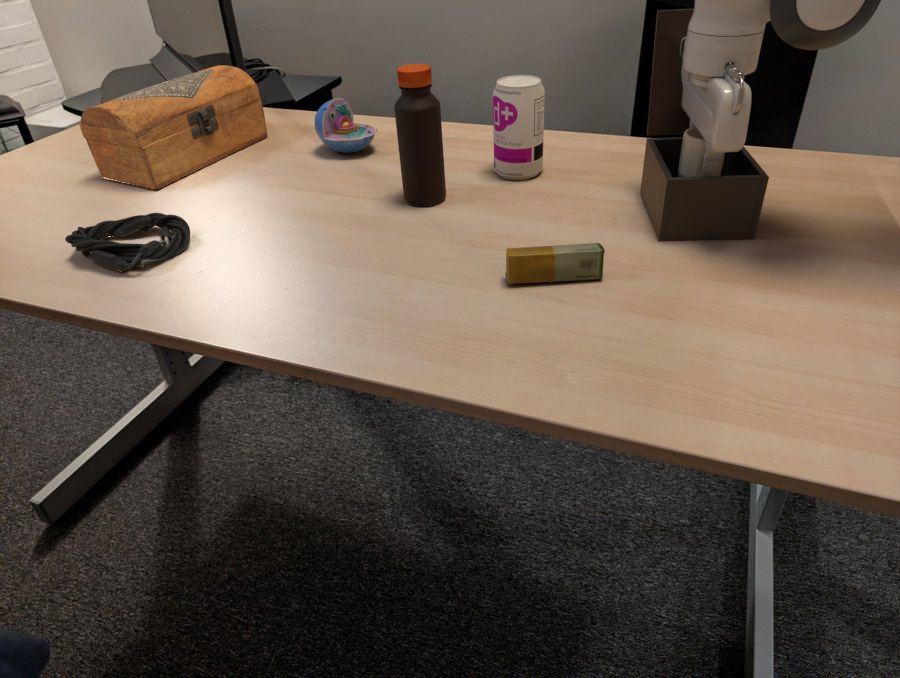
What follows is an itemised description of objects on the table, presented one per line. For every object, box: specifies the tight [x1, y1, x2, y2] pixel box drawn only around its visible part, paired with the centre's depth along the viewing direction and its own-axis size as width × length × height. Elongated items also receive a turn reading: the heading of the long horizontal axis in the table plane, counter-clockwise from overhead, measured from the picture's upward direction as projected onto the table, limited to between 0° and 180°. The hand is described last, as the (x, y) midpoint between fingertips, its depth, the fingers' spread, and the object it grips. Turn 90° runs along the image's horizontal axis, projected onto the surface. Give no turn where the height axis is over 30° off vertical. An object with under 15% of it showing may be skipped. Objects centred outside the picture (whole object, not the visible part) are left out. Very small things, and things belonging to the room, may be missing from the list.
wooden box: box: [78, 64, 268, 191], centre depth 123 cm, size 30×16×14 cm, turn 150°
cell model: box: [313, 97, 378, 154], centre depth 122 cm, size 10×12×10 cm
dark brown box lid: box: [646, 8, 745, 136], centre depth 92 cm, size 16×13×1 cm
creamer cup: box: [678, 127, 726, 177], centre depth 89 cm, size 6×6×6 cm
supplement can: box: [492, 74, 546, 181], centre depth 107 cm, size 8×8×15 cm
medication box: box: [505, 242, 606, 285], centre depth 81 cm, size 12×3×4 cm, turn 93°
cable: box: [64, 212, 191, 272], centre depth 95 cm, size 17×14×4 cm
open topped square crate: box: [639, 136, 770, 242], centre depth 92 cm, size 16×13×9 cm
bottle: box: [393, 63, 447, 207], centre depth 99 cm, size 7×7×20 cm
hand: (701, 160), depth 90 cm, fingers closed on creamer cup, 6 cm apart
